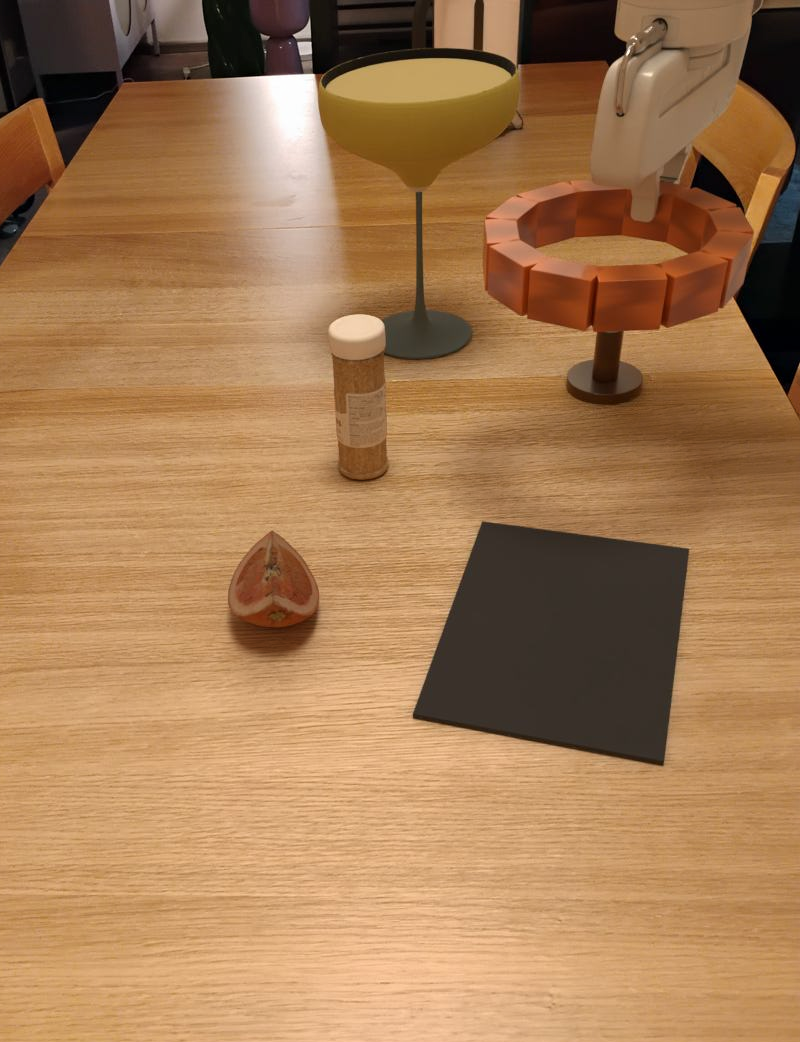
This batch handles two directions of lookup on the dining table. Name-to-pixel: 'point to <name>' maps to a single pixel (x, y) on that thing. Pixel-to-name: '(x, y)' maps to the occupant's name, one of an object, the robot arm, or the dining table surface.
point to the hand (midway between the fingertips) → (653, 209)
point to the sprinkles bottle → (360, 394)
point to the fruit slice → (273, 585)
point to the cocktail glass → (419, 145)
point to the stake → (605, 373)
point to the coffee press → (471, 27)
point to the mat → (562, 641)
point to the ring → (614, 291)
